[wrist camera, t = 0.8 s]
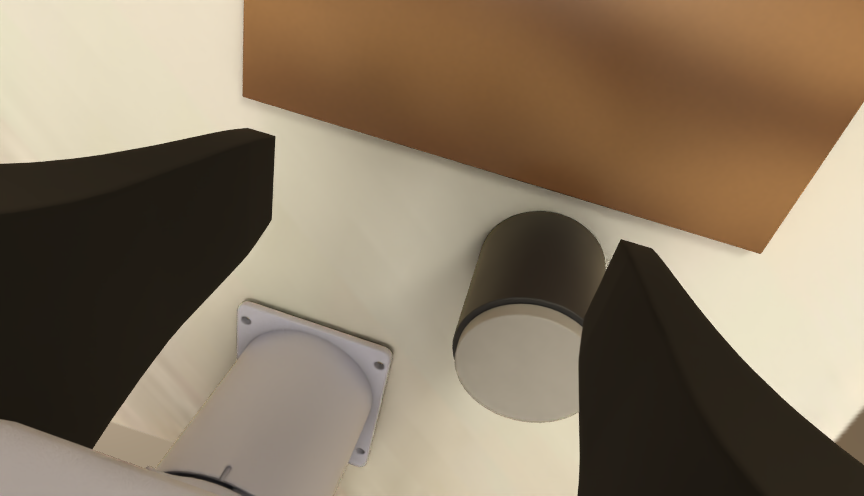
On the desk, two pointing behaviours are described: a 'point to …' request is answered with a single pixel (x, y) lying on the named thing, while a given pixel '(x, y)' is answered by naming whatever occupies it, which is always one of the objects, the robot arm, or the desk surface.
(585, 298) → the thermos cap
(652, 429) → the robot arm
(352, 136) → the desk surface
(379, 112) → the brown wooden board
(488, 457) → the desk surface
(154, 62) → the desk surface
